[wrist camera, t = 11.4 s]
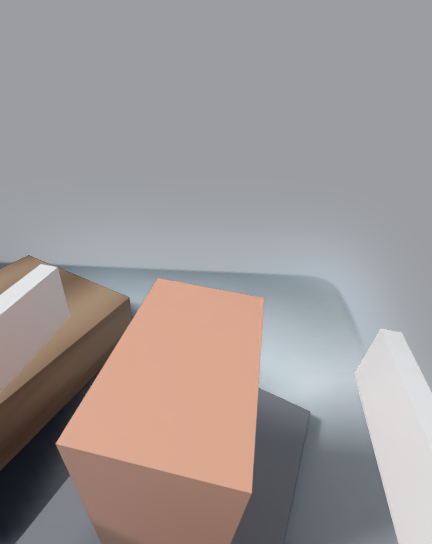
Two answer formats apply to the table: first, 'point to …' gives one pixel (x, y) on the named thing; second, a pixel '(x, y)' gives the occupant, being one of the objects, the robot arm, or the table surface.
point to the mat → (260, 508)
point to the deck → (59, 356)
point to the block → (171, 420)
